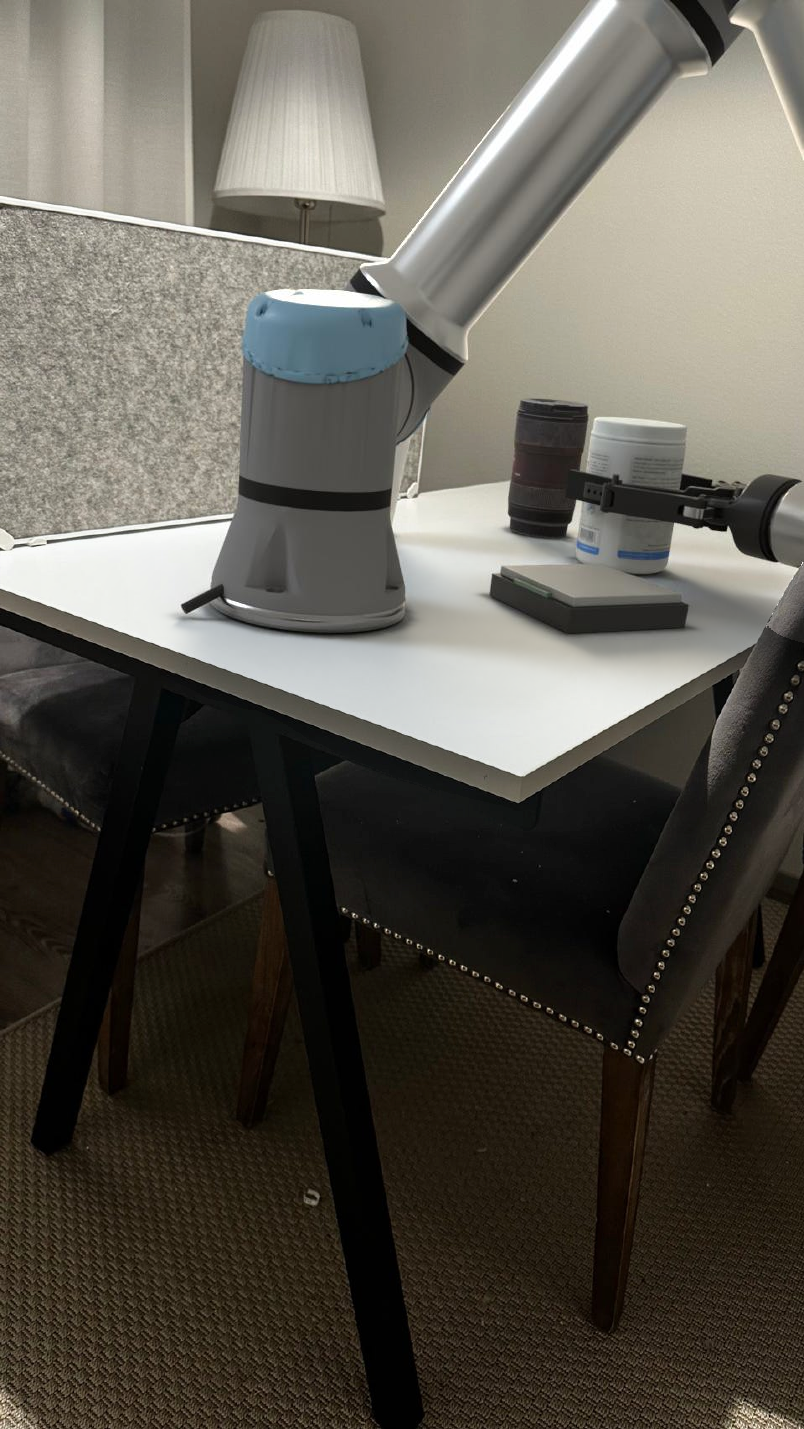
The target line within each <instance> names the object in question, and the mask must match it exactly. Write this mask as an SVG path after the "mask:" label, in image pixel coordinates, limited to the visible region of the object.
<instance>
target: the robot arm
mask: <svg viewBox="0 0 804 1429" xmlns="http://www.w3.org/2000/svg"><path fill="white" fill-rule="evenodd" d="M745 29H748V30H749V31H751V32H753V35H754V37H755V40H756V43H757V46H758V48H759V50H760V53H761V56H762V58H763V60H764V63H765V66H766V68H767V71H768V73H769V75H770V76H769V77H770V79H771V81H772V83H773V86H774V89H775V91H776V94H777V96H778V99H779V101H780V104H781V107H782V109H783V112H784V115H785V117H786V119H787V122H788V125H789V127H790V129H791V132H792V135H793V137H794V139H795V143H796V146H797V148H798V150H799V152H800V155H801V158H802V161H803V162H804V0H589V1H588V2H587V4H586V5H585V6H584V8H583V9H582V10H581V11H580V13H578V16H576V18H575V19H574V20H573V22H572V24H570V26H569V27H568V28H567V30H566V31H565V32H564V34H563V35H562V36H561V37H560V39H559V40H558V41H557V43H556V44H555V45H554V47H553V48H552V49H551V50H550V52H549V53H548V55H547V56H546V57H545V58H544V59H543V61H542V62H541V63H540V65H539V66H538V67H537V68H536V70H535V71H534V73H533V74H532V75H531V76H530V77H529V79H528V80H527V81H526V83H525V84H524V85H523V86H522V88H521V89H520V90H519V92H518V93H517V94H516V96H515V97H514V98H513V100H512V101H511V102H510V103H509V105H508V106H507V108H506V109H505V110H504V111H503V113H501V115H500V117H498V119H497V120H496V121H495V123H494V124H493V125H492V127H491V128H490V130H489V131H487V133H486V134H485V136H484V137H483V138H482V140H481V141H480V142H479V143H478V145H477V146H476V147H475V148H474V150H473V151H472V153H471V154H470V156H468V158H467V159H466V160H465V162H464V163H463V164H462V165H461V167H460V168H459V170H458V171H457V172H456V173H455V175H454V176H453V177H452V179H451V180H450V181H449V182H448V183H447V185H446V186H445V188H443V190H442V192H440V194H439V195H438V197H437V198H436V199H435V200H434V202H433V203H432V204H431V206H430V207H429V208H428V210H427V211H426V212H425V213H424V215H423V216H422V217H421V219H420V220H419V221H418V222H417V224H416V225H415V226H414V228H412V230H411V232H410V233H409V234H408V235H407V237H406V238H405V239H404V240H403V242H402V243H401V244H400V246H399V247H398V248H397V249H396V251H395V252H394V253H393V255H392V256H391V257H390V258H389V259H387V260H385V261H382V262H380V261H379V262H370V263H362V264H361V265H360V267H359V268H358V269H357V271H355V273H354V274H353V276H352V277H351V278H350V279H349V281H348V282H347V283H346V285H345V286H344V287H343V288H342V289H341V290H335V289H334V290H332V289H315V288H314V289H313V288H311V289H310V288H302V289H295V290H294V289H289V288H287V289H275V290H273V289H272V290H267V291H265V292H262V293H259V294H257V295H256V296H255V297H253V299H252V300H251V301H250V303H249V305H248V307H247V310H246V317H245V325H244V326H245V327H244V332H243V334H242V336H241V338H242V339H241V351H242V354H243V355H242V356H243V358H242V382H241V383H242V386H241V411H240V438H239V462H238V464H239V465H238V466H239V467H238V488H237V489H238V490H237V503H236V507H235V511H234V513H233V516H232V519H231V521H230V524H229V526H228V529H227V532H226V535H225V538H224V540H223V543H222V546H221V549H220V551H219V554H218V557H217V559H216V562H215V564H214V567H213V570H212V575H211V582H210V588H209V590H206V591H204V592H202V593H201V594H200V593H199V594H198V595H197V596H194V597H193V598H191V599H188V600H186V601H184V602H183V603H181V604H180V608H181V610H182V611H183V613H184V614H185V615H188V614H189V613H191V612H193V611H195V610H197V609H200V607H201V608H202V606H205V605H207V604H209V603H210V604H211V606H212V607H213V608H214V609H215V610H217V611H218V612H219V613H222V615H223V614H224V615H226V616H228V617H230V618H233V619H234V620H235V619H236V620H239V621H242V622H244V623H249V624H252V625H257V626H261V627H266V628H273V629H278V630H279V629H280V630H287V631H294V632H295V631H296V632H307V633H335V634H337V633H355V632H356V633H357V632H366V631H367V632H368V631H373V630H378V629H383V628H386V627H389V626H393V625H395V624H397V623H399V622H400V621H401V620H403V618H404V616H405V613H406V612H405V611H406V600H407V597H406V584H405V580H404V579H405V578H404V575H403V570H402V566H401V560H400V558H399V552H398V548H397V544H396V539H395V534H394V530H393V524H392V525H391V520H390V508H391V496H392V486H393V474H394V463H395V452H396V446H397V445H399V443H400V442H404V441H405V440H406V439H408V438H409V437H410V436H411V435H412V434H413V433H414V434H415V432H416V431H417V430H418V429H419V428H420V427H421V425H422V424H423V422H424V421H425V420H426V418H427V414H428V412H429V411H430V410H431V406H432V404H434V402H435V401H436V400H437V398H438V397H439V396H440V395H441V394H442V393H443V391H444V390H445V389H446V388H447V386H448V385H449V384H450V383H451V382H452V380H453V379H454V378H455V377H456V375H457V374H458V373H459V372H460V370H461V369H462V368H464V366H465V365H466V363H467V362H468V360H469V350H468V348H469V347H468V336H469V331H470V330H471V328H472V327H473V326H475V324H476V323H477V321H478V320H480V318H481V317H482V315H483V314H484V313H485V312H486V311H487V309H488V308H489V307H490V306H491V305H492V303H493V302H494V301H495V300H496V298H497V297H498V296H499V295H500V294H501V292H502V291H504V289H505V287H506V286H508V284H509V283H510V282H511V280H512V279H513V277H515V275H516V274H517V273H518V271H519V270H520V269H521V268H522V267H523V266H524V265H525V263H526V262H527V261H528V260H529V258H530V257H531V256H532V254H534V252H535V251H536V250H537V249H538V248H539V246H540V245H541V244H542V243H543V241H544V240H545V239H546V238H547V237H548V236H549V234H550V233H551V231H553V230H554V228H555V227H556V226H557V225H558V224H559V222H560V221H561V219H562V218H563V217H564V216H565V215H566V213H567V212H568V211H569V210H570V209H571V207H572V206H573V205H574V204H575V203H576V201H577V200H578V199H579V198H580V196H581V195H582V194H583V193H584V192H585V191H586V189H588V187H589V185H591V183H593V181H594V180H595V178H596V177H597V176H598V175H599V174H600V172H601V171H602V170H603V169H604V168H605V167H606V165H607V164H608V163H609V161H610V160H611V159H612V158H613V156H614V155H615V154H616V153H617V152H618V151H619V149H620V148H621V147H622V146H623V145H624V143H625V142H626V141H627V140H628V138H629V137H630V136H631V135H632V134H633V132H634V131H635V130H636V129H637V127H639V125H640V124H641V122H643V120H644V119H645V118H646V116H648V114H650V112H651V111H652V110H653V108H654V107H655V106H656V105H657V104H658V102H659V101H660V100H661V99H662V97H663V96H664V95H665V94H666V92H667V91H668V90H669V89H670V88H671V86H672V85H673V84H674V83H675V82H676V81H677V80H679V79H683V78H689V77H690V78H691V77H699V76H706V75H707V74H708V73H709V72H710V71H711V70H712V68H713V67H714V66H715V65H716V64H717V63H718V61H719V60H720V59H721V58H722V56H724V54H725V53H726V52H727V50H728V49H729V48H731V46H732V45H733V44H734V42H735V41H736V40H737V39H738V38H739V36H740V35H741V34H742V33H743V32H744V30H745ZM619 476H620V475H618V474H613V478H609V477H605V476H600V475H596V474H591V473H587V472H586V471H583V470H580V471H578V470H569V472H568V479H567V486H566V493H565V497H567V498H571V499H575V500H576V501H578V502H582V501H583V502H587V503H591V504H595V505H599V506H600V511H602V512H604V513H609V512H611V513H617V514H623V515H629V516H635V517H642V518H648V519H654V520H660V521H666V522H672V523H674V524H677V525H683V526H688V527H691V528H693V529H697V530H699V529H703V528H708V529H709V530H710V531H713V532H723V533H727V532H728V529H729V530H730V533H731V537H732V540H733V543H734V545H735V547H736V549H737V550H738V551H739V552H740V553H742V554H743V555H745V556H748V557H750V558H751V557H752V558H756V559H759V560H763V561H767V562H769V563H770V562H771V563H780V564H782V565H784V566H788V567H792V568H797V569H800V568H799V567H800V566H801V564H802V562H804V480H801V479H797V478H792V477H788V476H784V475H783V476H781V475H777V474H773V473H772V474H771V473H766V474H762V475H759V476H756V477H755V478H754V479H752V480H751V481H750V482H749V483H747V484H746V483H744V482H741V481H738V480H734V481H731V482H730V483H728V482H726V481H724V480H723V479H719V480H715V481H714V480H713V479H712V478H708V477H707V478H706V477H701V476H697V475H692V474H689V473H688V474H686V473H683V472H682V476H681V483H680V489H679V490H674V489H666V488H658V487H650V486H641V485H633V484H625V483H622V481H623V480H619ZM713 481H714V484H713Z"/></svg>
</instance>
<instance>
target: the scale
mask: <svg viewBox="0 0 804 1429" xmlns="http://www.w3.org/2000/svg"><path fill="white" fill-rule="evenodd" d="M682 595H683V594H682V593H680V592H679V591H675V590H673V589H670V588H667V587H665V586H663V585H659V584H657V583H654V582H651V581H649V580H646V579H643V578H641V577H638V576H636V575H634V574H630V573H625V572H622V571H620V570H617V569H614V568H612V567H609V566H607V565H604V564H583V563H579V564H578V563H577V564H573V563H572V564H527V565H526V564H525V565H524V564H521V565H519V564H517V565H501V566H500V572H497V573H496V572H495V573H494V572H493V573H492V574H491V580H490V588H489V597H492V598H494V599H496V600H498V601H500V602H502V603H505V604H507V605H508V606H510V607H512V608H514V609H517V610H518V611H521V612H523V613H525V614H527V615H529V616H531V617H533V618H535V619H537V620H539V621H541V622H544V623H546V624H547V625H549V626H551V627H554V628H555V629H558V630H560V631H562V632H564V633H565V634H584V633H585V634H586V633H587V634H588V633H603V632H604V633H605V632H623V631H625V632H626V631H643V630H644V631H645V630H663V629H680V628H681V629H682V628H685V627H686V623H687V617H688V613H689V607H690V604H689V603H686V602H684V601H682Z"/></svg>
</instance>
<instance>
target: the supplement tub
mask: <svg viewBox="0 0 804 1429" xmlns="http://www.w3.org/2000/svg"><path fill="white" fill-rule="evenodd" d="M687 432H688V427H687V426H686V425H685V424H681V423H677V422H670V421H662V420H655V419H645V418H644V419H643V418H632V417H619V416H596V417H595V418H594V419H593V425H592V430H591V431H590V434H591V435H590V438H589V446H588V454H587V461H586V469H585V472H587V473H591V474H596V475H600V476H605V477H609V478H613V474H618V475H620V476H619V480H623V481H622V483H625V484H633V485H641V486H650V487H658V488H666V489H674V490H679V489H680V483H681V476H682V473H683V469H684V463H685V457H686V450H687ZM674 526H675V523H672V522H666V521H660V520H654V519H648V518H642V517H635V516H629V515H623V514H617V513H611V512H609V513H604V512H602V511H600V506H599V505H595V504H591V503H587V502H583V501H581V508H580V516H579V525H578V532H577V539H576V548H575V557H576V559H577V560H578V562H580V564H604V565H607V566H609V567H612V568H614V569H617V570H620V571H622V572H625V573H628V574H630V575H651V574H656V573H659V572H662V571H664V570H665V568H666V567H667V566H668V563H669V557H670V552H671V546H672V540H673V533H674Z"/></svg>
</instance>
